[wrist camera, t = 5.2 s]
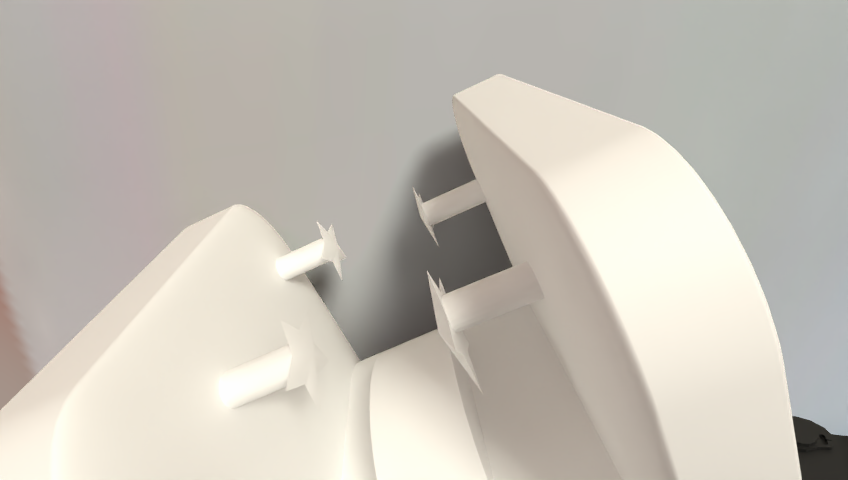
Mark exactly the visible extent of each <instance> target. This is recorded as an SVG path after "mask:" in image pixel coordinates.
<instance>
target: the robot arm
mask: <svg viewBox="0 0 848 480" xmlns="http://www.w3.org/2000/svg"><path fill="white" fill-rule="evenodd" d="M792 419H793V425H794V431H795V438H796V444H797V451H798V457H799V464H800V470H801V477H802V480H848V436H841V435H833V434H830V433H829V432H828V431H827V430H826V429H825V428H823V427H821V426H820V425H818V424H816V423H814V422H812V421H810V420H806V419H803V418H799V417H795V416H792Z"/></svg>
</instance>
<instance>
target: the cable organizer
mask: <svg viewBox="0 0 848 480" xmlns="http://www.w3.org/2000/svg"><path fill="white" fill-rule="evenodd" d="M452 105H453V112H454V116H455V121H456V124H457V128H458V131H459V134H460V138H461V141H462V144H463V146H464V149H465V152H466V155H467V157H468V160H469V163H470V165H471V168H472V170H473V173H474V175H475V178H476V179H475V180H473V181H471V182H469V183H466V184H464V185H462V186H460V187H457V188H455V189H453V190H451V191H449V192H446V193H444V194H442V195H440V196H437V197H435V198H433V199H431V200H429V201H426V202H424V203H423V202H422V199H421V196H420V194H419V197H418V195H417V193H416V192H415V190H414V188H413V191H414V195H415V199H416V202H417V206H418V210H419V214H420V217H421V219H422V220H423V222H424V224H425V225H426V227H427V229H428V230H429V232H430V234H431V235H432V237H433V238H434V240H435V242H436V243H437V240H436V237H435V234H434V231H433V227H434V226H433V225H435V224H437V223H439V222H441V221H444V220H446V219H448V218H450V217H453V216H455V215H457V214H459V213H462V212H464V211H466V210H468V209H471V208H473V207H475V206H478V205H480V204H482V203H484V202H486V204H487V206H488V209H489V211H490V214H491V216H492V218H493V221H494V223H495V226H496V228H497V230H498V233H499V235H500V238H501V240H502V242H503V245H504V247H505V250H506V252H507V254H508V257H509V259H510V262H511V264H512V266H513V267H511V268H508V269H506V270H503V271H501V272H498V273H496V274H494V275H491V276H489V277H486V278H484V279H481V280H479V281H476V282H474V283H471V284H469V285H466V286H464V287H461V288H459V289H456V290H454V291H452V292H449V293H447V294H446V293H445V290H444V287H443V285H442V282H441V280H440V277H439V288H438V287H437V285H436V284H435V282H434V281H433V279H432V277H431V276H430V274H429V273H428V271H427V274H428V280H429V285H430V290H431V296H432V301H433V306H434V312H435V317H436V322H437V328H438V329H436V330H433V331H431V332H429V333H426V334H424V335H422V336H419V337H417V338H414V339H412V340H410V341H407V342H405V343H402V344H400V345H398V346H395V347H393V348H390V349H388V350H386V351H383V352H381V353H379V354H376V355H374V356H371V357H369V358H367V359H364V360H362V361H360V359H359V358H358V356H357V355H356V353H355V352H354V350H353V348H352V347H351V345H350V344H349V342H348V340H347V339H346V337H345V336H344V334H343V332H342V331H341V329H340V328H339V326H338V325H337V323H336V321H335V320H334V318H333V317H332V315H331V313H330V312H329V310H328V309H327V307H326V306H325V304H324V302H323V301H322V299H321V298H320V296H319V294H318V293H317V291H316V290H315V288H314V287H313V285H312V283H311V282H310V280H309V279H308V277H307V275H306V274H305V272H307V271H309V270H311V269H314V268H316V267H318V266H320V265H323V264H325V263H327V262H329V261H332V262H333V263H334V265H335V267H336V269H337V271H338V273H339V275H340V277H341V279H342V273H341V264H340V261H341V260H343V259H345V258H347V257H346V256H345V254H344V253H343V251H342V250H341V248H340V247H339V246H338V244H337V241H336V237H335V233H334V229H333V225H332V224H331V226H330V228H329V230H328V232H327V231H326V230H325V229H324V228H323V227H322V226H321V225H320V224H319V223H318V222H317V224H318V226H319V229H320V232H321V235H322V237H323V238H321V239H319V240H317V241H315V242H312V243H310V244H308V245H306V246H303V247H301V248H299V249H297V250H295V251H292V252H291V250H290V249H289V247H288V246H287V244H286V243H285V242H284V240H283V239H282V238H281V236H280V235H279V234H278V233H277V231H276V230H275V229H274V228H273V227H272V226H271V225H270V224H269V223H268V222H267V221H266V220H265V219H264V218H263V217H262V216H261V215H260V214H258V213H257V212H256V211H255V210H253V209H251V208H249V207H247V206H245V205H240V204H238V205H233V206H231V207H229V208H227V209H224V210H222V211H220V212H218V213H216V214H214V215H212V216H210V217H207V218H205V219H203V220H201V221H199V222H197V223H195V224H193V225H190V226H188V227H187V228H185V229H184V230H183V231H182V232H181V233H180V234H179V235H178V236H177V237H176V238H175V239H174V240H173V241H172V242H171V243H170V244H169V245H168V246H167V247H166V248H165V249H164V250H163V251H162V252H161V253H160V254H159V255H158V256H157V257H156V258H155V259H154V260H153V261H152V262H151V263H150V264H148V265H147V266H146V267H145V268H144V269H143V270H142V271H141V272H140V273H139V274H138V275H137V276H136V277H135V278H134V279H133V280H132V281H131V282H130V283H129V284H128V285H127V286H126V287H125V288H124V289H123V290H122V291H121V292H120V293H119V294H118V295H117V296H116V297H115V298H114V299H113V300H112V301H111V302H110V303H109V304H108V305H107V306H106V307H105V308H104V309H103V310H102V311H101V312H100V313H99V314H98V315H97V316H96V317H95V318H94V319H93V320H92V321H91V322H90V323H89V324H88V325H87V326H86V327H85V328H84V329H82V330H81V331H80V332H79V333H78V334H77V335H76V336H75V337H74V338H73V339H72V340H71V341H70V342H69V343H68V344H67V345H66V346H65V347H64V348H63V349H62V350H61V351H60V352H59V353H58V354H57V355H56V356H55V357H54V358H53V359H52V360H51V361H50V362H49V363H48V364H47V365H46V366H45V367H44V368H43V369H42V370H41V371H40V372H39V373H38V374H37V375H36V376H35V377H34V378H33V379H32V380H31V381H30V382H29V383H28V384H27V385H26V386H25V387H24V388H23V389H22V390H21V391H20V392H19V393H18V394H17V395H16V396H15V397H13V399H12V400H10V402H8V403H7V404H6V405H5V406H4V407H3V408H2V410H0V480H802V477H801V470H800V464H799V457H798V451H797V444H796V438H795V431H794V425H793V419H792V412H791V406H790V399H789V393H788V386H787V380H786V374H785V367H784V361H783V356H782V351H781V346H780V342H779V338H778V335H777V332H776V328H775V325H774V322H773V319H772V315H771V312H770V309H769V306H768V303H767V300H766V298H765V295H764V293H763V290H762V288H761V286H760V283H759V281H758V278H757V276H756V273H755V271H754V269H753V266H752V264H751V262H750V260H749V258H748V256H747V254H746V252H745V250H744V248H743V246H742V244H741V242H740V240H739V238H738V236H737V234H736V233H735V231H734V229H733V227H732V225H731V224H730V222H729V220H728V219H727V217H726V215H725V214H724V212H723V211H722V209H721V207H720V206H719V204H718V202H717V201H716V199H715V198H714V196H713V195H712V193H711V192H710V190H709V189H708V188H707V186H706V185H705V184H704V182H703V181H702V180H701V178H700V177H699V176H698V174H697V173H696V172H695V170H694V169H693V168H692V167H691V166H690V165H689V164H688V163H687V161H686V160H685V159H684V158H683V157H682V156H681V155H680V154H679V153H678V152H677V151H676V150H675V149H674V148H673V147H672V146H671V145H669V144H668V143H667V142H666V141H665V140H663V139H662V138H661V137H660V136H658V135H657V134H656V133H654V132H652V131H650V130H649V129H647V128H645V127H643V126H640V125H637V124H635V123H632V122H629V121H627V120H624V119H621V118H619V117H616V116H613V115H610V114H608V113H605V112H602V111H600V110H597V109H594V108H591V107H589V106H586V105H583V104H581V103H578V102H575V101H572V100H570V99H567V98H564V97H562V96H559V95H556V94H553V93H551V92H548V91H545V90H543V89H540V88H537V87H534V86H532V85H529V84H526V83H524V82H521V81H518V80H515V79H513V78H510V77H507V76H505V75H502V74H497V75H495V76H493V77H491V78H489V79H487V80H484V81H482V82H480V83H478V84H476V85H474V86H472V87H470V88H467V89H465V90H463V91H461V92H459V93H457V94H455V95H453V98H452ZM412 187H413V186H412ZM437 245H438V243H437ZM438 247H439V246H438Z"/></svg>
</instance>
